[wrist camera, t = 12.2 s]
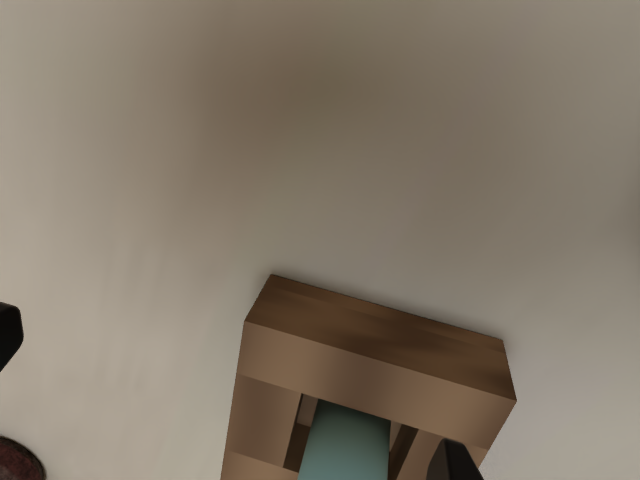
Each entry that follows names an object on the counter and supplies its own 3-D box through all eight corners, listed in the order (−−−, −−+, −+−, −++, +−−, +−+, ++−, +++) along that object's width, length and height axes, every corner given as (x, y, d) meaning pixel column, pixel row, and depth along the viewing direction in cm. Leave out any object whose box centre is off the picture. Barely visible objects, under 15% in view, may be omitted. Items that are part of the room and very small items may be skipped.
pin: (381, 438, 26) (368, 597, 19) (312, 418, 26) (274, 567, 19) (400, 387, 24) (393, 542, 17) (326, 366, 24) (289, 510, 17)
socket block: (502, 340, 23) (516, 400, 19) (428, 486, 28) (428, 554, 25) (270, 274, 24) (244, 320, 20) (243, 428, 29) (219, 485, 26)
